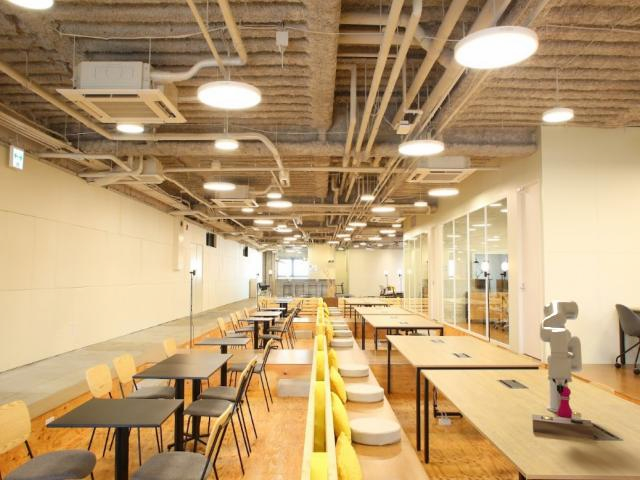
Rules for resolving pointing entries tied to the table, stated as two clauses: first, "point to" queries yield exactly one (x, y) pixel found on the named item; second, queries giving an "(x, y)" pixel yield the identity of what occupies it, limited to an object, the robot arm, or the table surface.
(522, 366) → the table surface
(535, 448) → the table surface
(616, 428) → the table surface
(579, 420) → the peg
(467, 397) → the table surface
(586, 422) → the collar block
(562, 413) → the pepper mill
